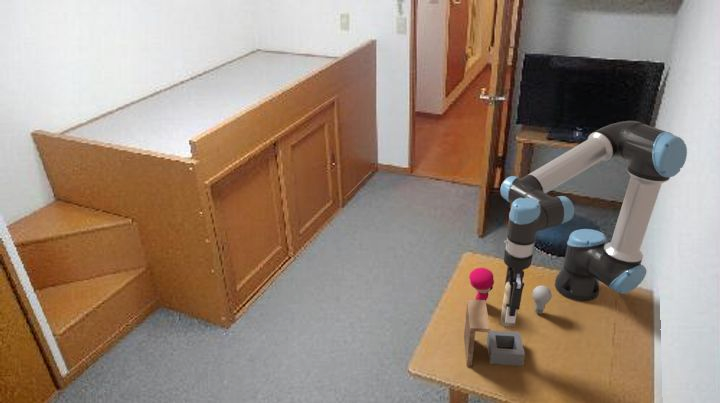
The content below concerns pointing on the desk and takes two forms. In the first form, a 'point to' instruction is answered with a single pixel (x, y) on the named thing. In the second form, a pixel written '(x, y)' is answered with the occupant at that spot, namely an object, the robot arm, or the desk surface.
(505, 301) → the peg
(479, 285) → the toy
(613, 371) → the desk surface
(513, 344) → the socket
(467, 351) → the wooden lipped block
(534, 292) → the lightbulb
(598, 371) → the desk surface
